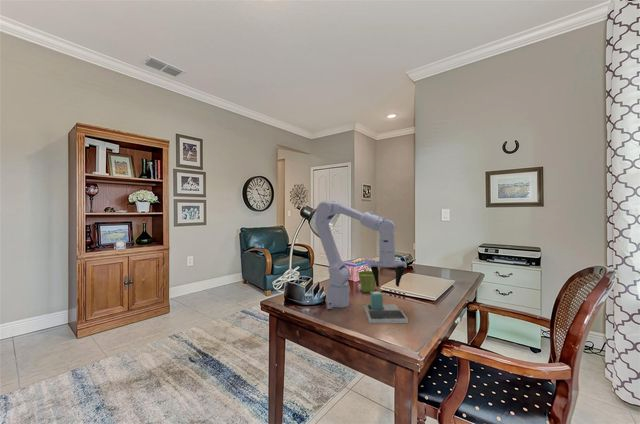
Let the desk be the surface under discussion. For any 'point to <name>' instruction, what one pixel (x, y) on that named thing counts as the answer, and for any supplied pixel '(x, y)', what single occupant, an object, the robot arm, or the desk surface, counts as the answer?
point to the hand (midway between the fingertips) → (387, 285)
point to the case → (386, 316)
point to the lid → (385, 307)
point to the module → (376, 301)
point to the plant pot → (367, 281)
